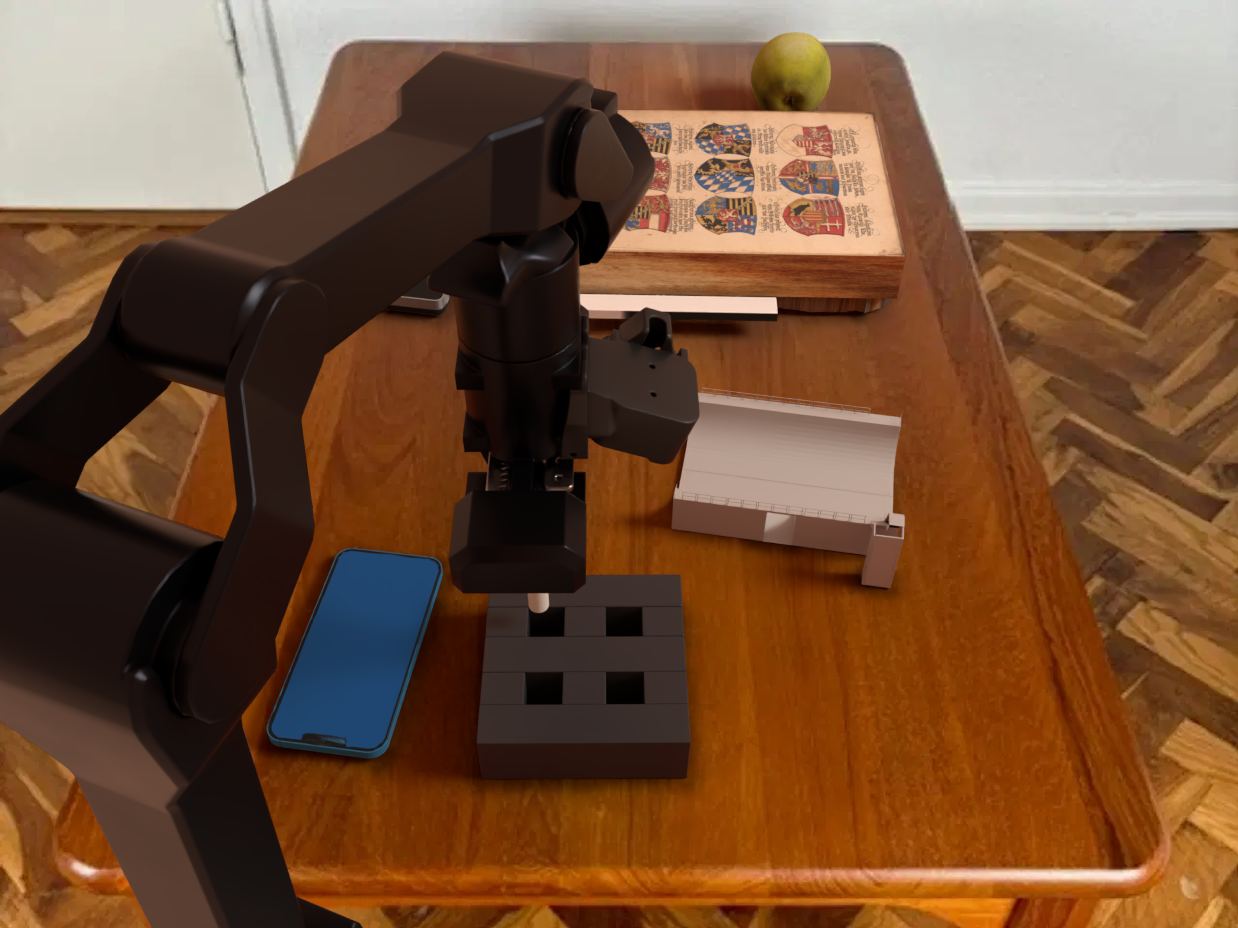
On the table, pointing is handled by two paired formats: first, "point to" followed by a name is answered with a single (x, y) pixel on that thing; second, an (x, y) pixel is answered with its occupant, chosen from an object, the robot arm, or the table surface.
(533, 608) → the stylus
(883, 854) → the table surface
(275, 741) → the smartphone
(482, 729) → the pen stand
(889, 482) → the skate ramp
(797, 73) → the apple
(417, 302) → the external hard drive
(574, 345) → the robot arm
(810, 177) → the book
